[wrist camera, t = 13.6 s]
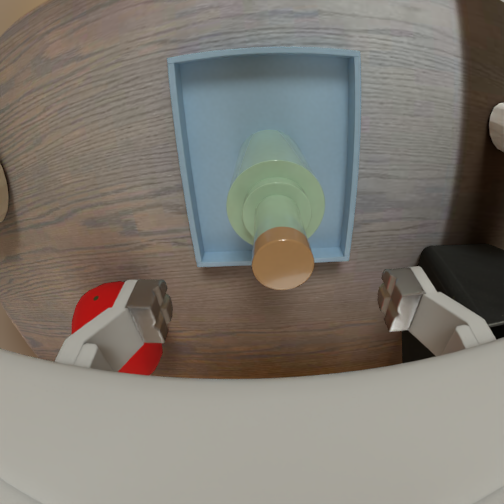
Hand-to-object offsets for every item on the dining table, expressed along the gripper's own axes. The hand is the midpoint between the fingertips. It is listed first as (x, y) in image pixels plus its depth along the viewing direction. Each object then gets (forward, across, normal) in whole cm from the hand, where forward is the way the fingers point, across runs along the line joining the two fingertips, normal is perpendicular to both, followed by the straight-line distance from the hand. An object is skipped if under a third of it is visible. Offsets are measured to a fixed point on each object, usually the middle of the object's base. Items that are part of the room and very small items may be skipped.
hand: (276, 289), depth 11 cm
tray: (+20, 0, +1) cm, 20 cm away
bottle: (+19, 0, +1) cm, 19 cm away
